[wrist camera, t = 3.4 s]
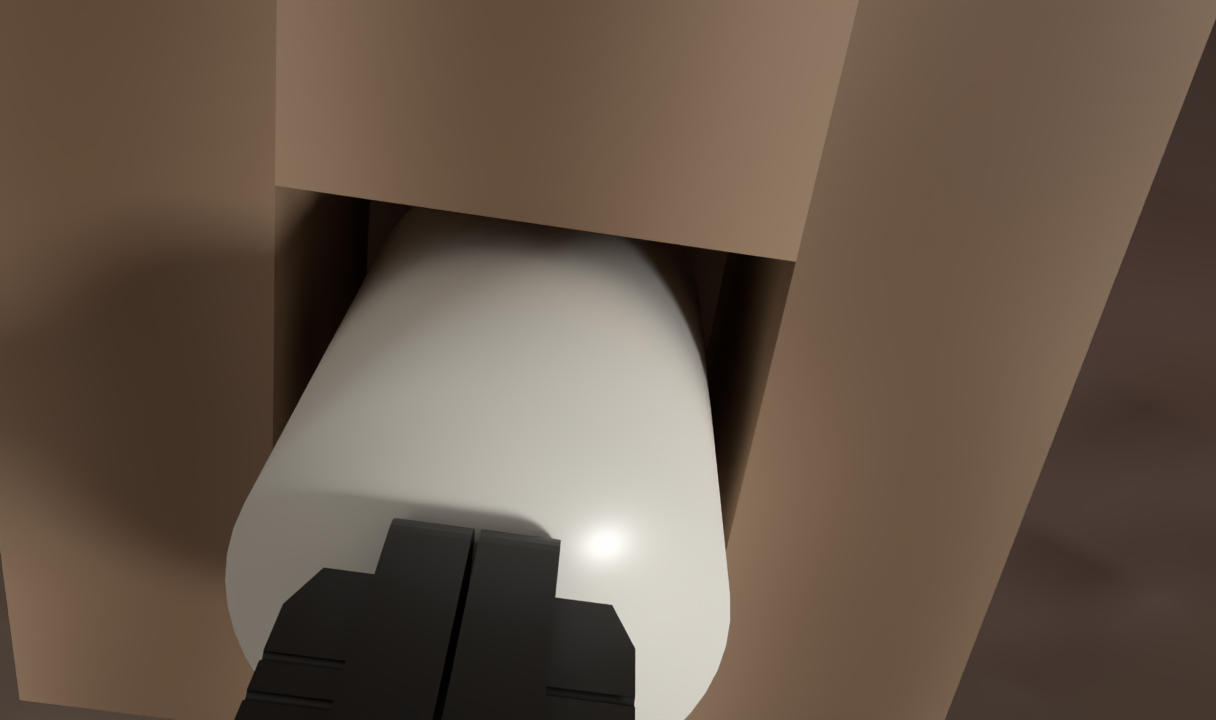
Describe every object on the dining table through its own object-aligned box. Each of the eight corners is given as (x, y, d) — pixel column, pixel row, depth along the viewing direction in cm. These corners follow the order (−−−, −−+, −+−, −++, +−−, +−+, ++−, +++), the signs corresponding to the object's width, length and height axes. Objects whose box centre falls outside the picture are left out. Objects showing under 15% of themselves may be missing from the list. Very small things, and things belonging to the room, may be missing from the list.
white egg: (730, 192, 15) (779, 436, 9) (670, 484, 17) (681, 818, 12) (375, 138, 15) (221, 357, 9) (359, 442, 17) (228, 760, 11)
